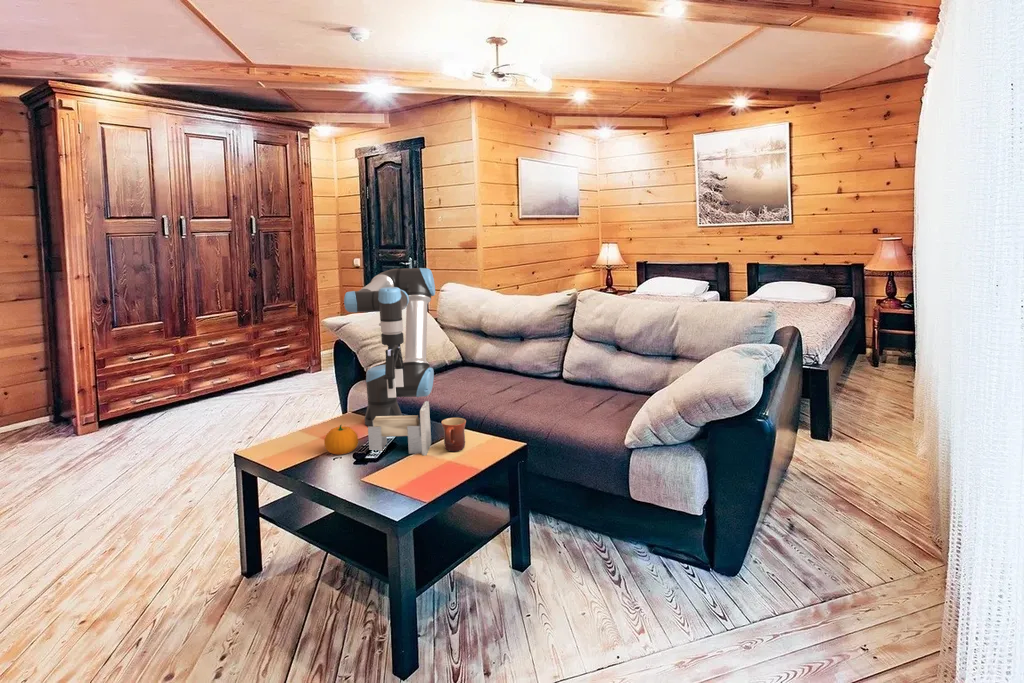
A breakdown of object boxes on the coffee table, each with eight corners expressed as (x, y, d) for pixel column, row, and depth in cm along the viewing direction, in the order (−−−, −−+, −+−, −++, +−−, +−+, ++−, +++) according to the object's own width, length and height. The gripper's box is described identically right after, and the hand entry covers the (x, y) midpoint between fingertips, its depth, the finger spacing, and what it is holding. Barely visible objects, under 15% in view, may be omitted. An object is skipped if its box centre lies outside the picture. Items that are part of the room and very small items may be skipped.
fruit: (355, 443, 227) (353, 417, 225) (362, 453, 216) (360, 426, 215) (322, 449, 222) (320, 422, 220) (328, 459, 211) (325, 432, 210)
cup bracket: (413, 443, 225) (411, 401, 222) (431, 443, 225) (429, 401, 222) (407, 455, 213) (405, 411, 210) (426, 455, 213) (424, 410, 210)
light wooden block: (377, 432, 220) (376, 416, 219) (419, 431, 220) (418, 415, 219) (374, 436, 216) (373, 420, 214) (417, 435, 215) (416, 419, 214)
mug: (446, 444, 223) (445, 417, 222) (470, 445, 222) (468, 418, 220) (436, 456, 212) (435, 427, 210) (460, 457, 210) (459, 428, 208)
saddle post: (374, 446, 223) (372, 420, 221) (387, 446, 223) (385, 419, 221) (369, 454, 215) (367, 427, 213) (382, 454, 215) (380, 426, 213)
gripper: (388, 326, 224) (392, 382, 228) (372, 339, 200) (377, 402, 204) (409, 326, 224) (412, 382, 228) (395, 339, 199) (399, 401, 204)
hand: (396, 392), depth 216 cm, fingers open, 13 cm apart
